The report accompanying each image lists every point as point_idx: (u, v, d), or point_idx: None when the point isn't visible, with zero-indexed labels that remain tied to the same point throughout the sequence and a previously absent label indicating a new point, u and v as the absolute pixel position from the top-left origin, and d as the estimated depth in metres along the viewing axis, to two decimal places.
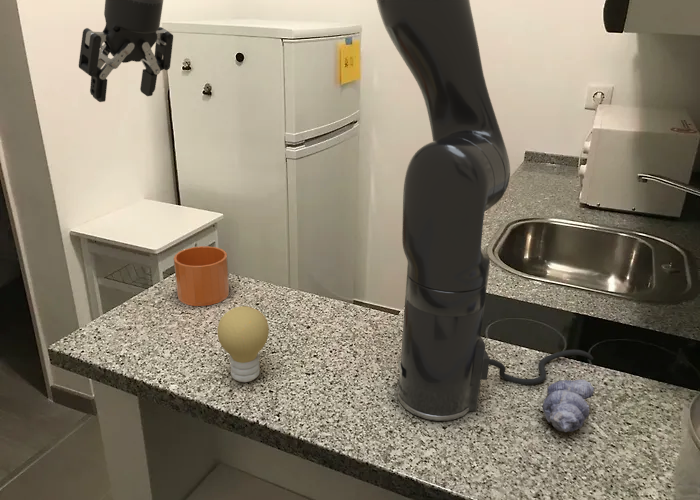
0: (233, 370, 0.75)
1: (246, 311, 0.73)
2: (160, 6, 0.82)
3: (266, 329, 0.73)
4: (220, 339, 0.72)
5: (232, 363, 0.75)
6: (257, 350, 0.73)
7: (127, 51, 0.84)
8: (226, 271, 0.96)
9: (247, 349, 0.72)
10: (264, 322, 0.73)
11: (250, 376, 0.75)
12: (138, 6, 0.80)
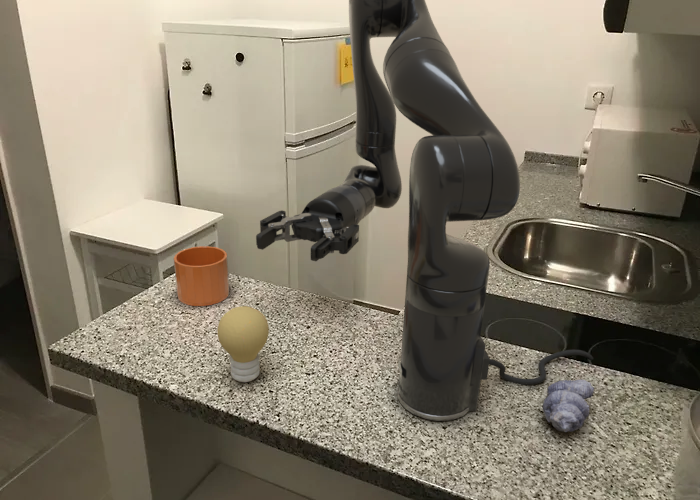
0: (233, 370, 0.75)
1: (246, 311, 0.73)
2: (343, 197, 0.92)
3: (266, 329, 0.73)
4: (220, 339, 0.72)
5: (232, 363, 0.75)
6: (257, 350, 0.73)
7: (302, 215, 0.88)
8: (226, 271, 0.96)
9: (247, 349, 0.72)
10: (264, 322, 0.73)
11: (250, 376, 0.75)
12: (322, 194, 0.93)
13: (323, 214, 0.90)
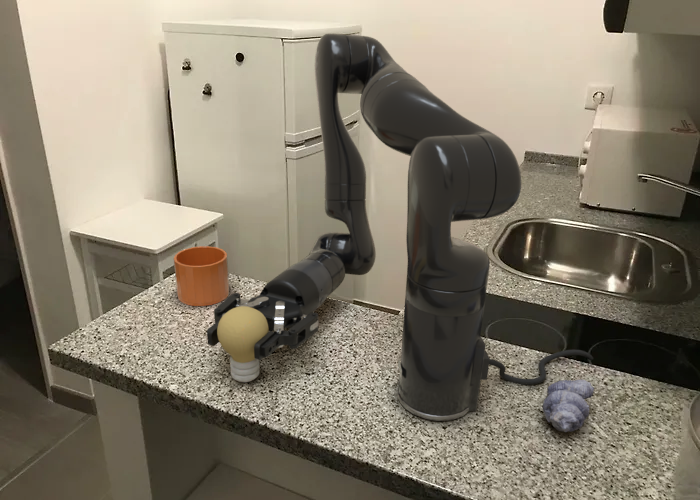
0: (233, 370, 0.75)
1: (246, 311, 0.73)
2: (306, 276, 0.84)
3: (266, 329, 0.73)
4: (220, 339, 0.72)
5: (232, 363, 0.75)
6: None
7: (258, 300, 0.80)
8: (226, 271, 0.96)
9: (247, 349, 0.72)
10: (264, 322, 0.73)
11: (250, 376, 0.75)
12: (283, 272, 0.85)
13: (282, 297, 0.82)
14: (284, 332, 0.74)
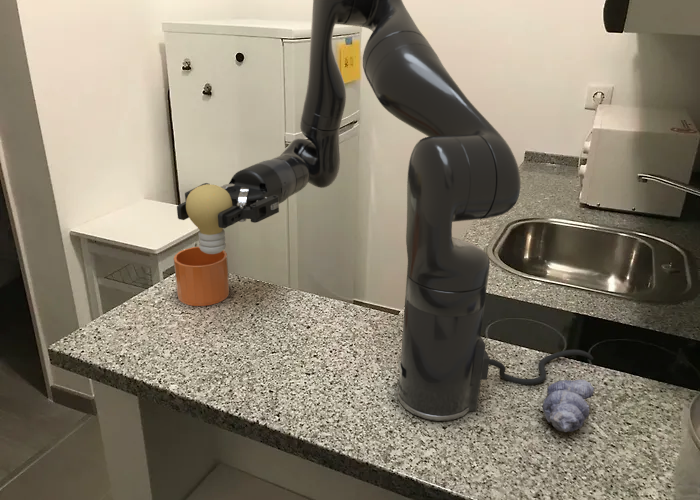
0: (201, 242, 0.83)
1: (211, 186, 0.81)
2: (270, 169, 0.92)
3: (229, 203, 0.82)
4: (188, 211, 0.81)
5: (200, 236, 0.83)
6: None
7: (225, 186, 0.88)
8: (226, 271, 0.96)
9: (212, 218, 0.80)
10: (228, 197, 0.82)
11: (216, 248, 0.84)
12: None
13: (248, 185, 0.90)
14: (246, 207, 0.83)
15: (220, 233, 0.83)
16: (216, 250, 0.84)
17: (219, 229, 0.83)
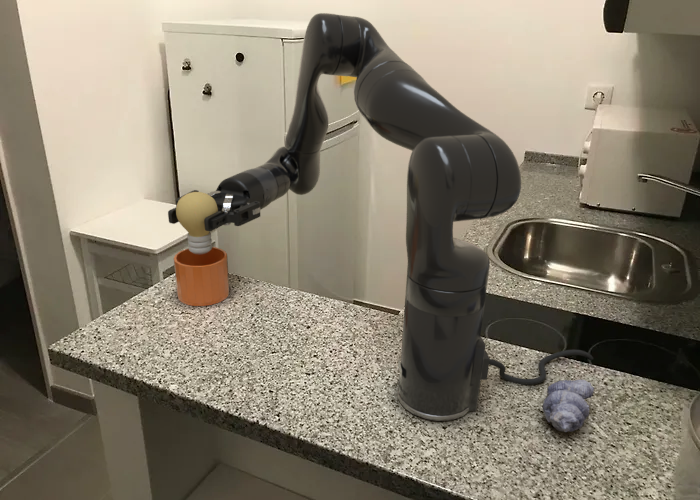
0: (189, 244, 0.93)
1: (198, 194, 0.91)
2: (253, 177, 1.02)
3: (215, 209, 0.91)
4: (178, 216, 0.90)
5: (188, 238, 0.93)
6: None
7: (212, 193, 0.98)
8: (226, 271, 0.96)
9: (199, 222, 0.90)
10: (213, 203, 0.91)
11: (203, 249, 0.93)
12: None
13: (233, 192, 1.00)
14: (230, 212, 0.93)
15: (207, 235, 0.93)
16: (203, 251, 0.93)
17: (206, 232, 0.92)
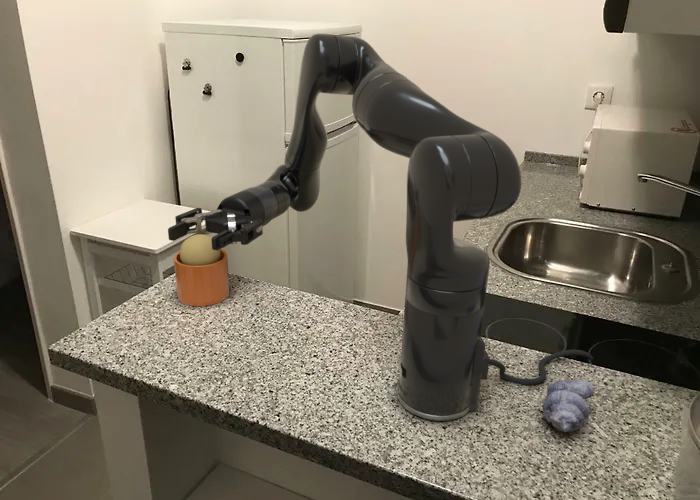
0: None
1: (202, 237, 0.94)
2: (253, 196, 1.03)
3: (218, 251, 0.94)
4: (181, 258, 0.93)
5: None
6: None
7: (213, 211, 0.99)
8: (226, 271, 0.96)
9: (202, 265, 0.93)
10: None
11: None
12: None
13: (234, 211, 1.01)
14: (237, 231, 0.94)
15: None
16: None
17: None
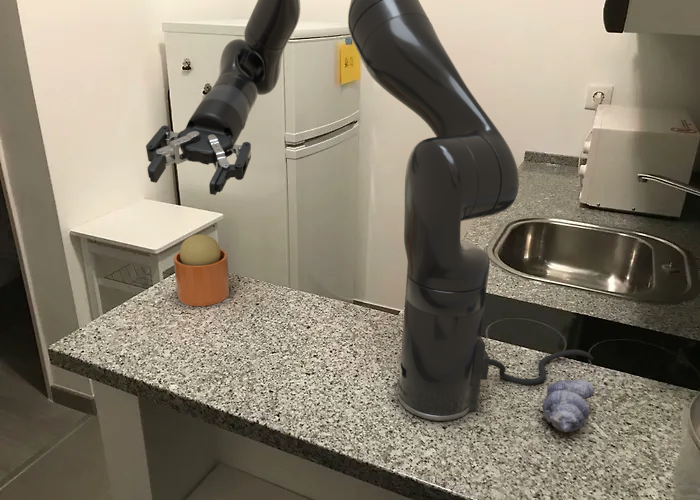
0: None
1: (202, 237, 0.94)
2: (228, 106, 0.89)
3: (218, 251, 0.94)
4: (181, 258, 0.93)
5: None
6: None
7: (190, 135, 0.85)
8: (226, 271, 0.96)
9: (202, 265, 0.93)
10: (216, 246, 0.94)
11: None
12: (205, 102, 0.89)
13: (210, 129, 0.87)
14: (230, 166, 0.83)
15: None
16: None
17: None
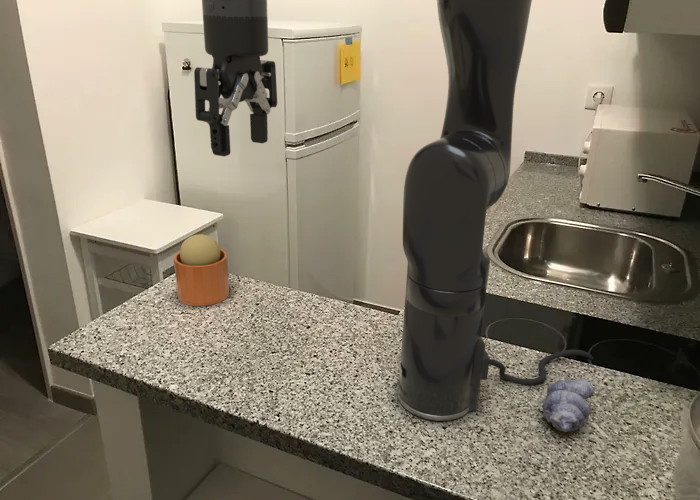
0: None
1: (202, 237, 0.94)
2: (267, 21, 0.69)
3: (218, 251, 0.94)
4: (181, 258, 0.93)
5: None
6: None
7: (243, 84, 0.70)
8: (226, 271, 0.96)
9: (202, 265, 0.93)
10: (216, 246, 0.94)
11: None
12: (250, 22, 0.66)
13: None
14: None
15: None
16: None
17: None
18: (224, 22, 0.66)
